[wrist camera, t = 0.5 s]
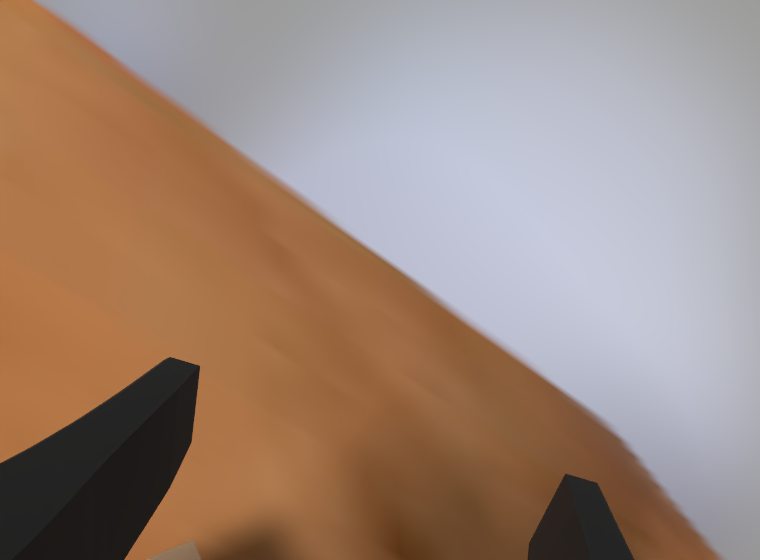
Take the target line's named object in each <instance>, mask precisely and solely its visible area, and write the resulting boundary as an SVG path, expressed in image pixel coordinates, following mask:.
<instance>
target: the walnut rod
mask: <svg viewBox="0 0 760 560" xmlns="http://www.w3.org/2000/svg"><path fill="white" fill-rule="evenodd" d="M146 560H201V558H200V555H199V552H198V550H197V547H196V544H195V542H194V540H191V541H189V542H187V543H184V544H182V545H179V546H177V547H175V548H172V549H170V550H167V551H165V552H162V553H160V554H158V555H155V556H153V557H150V558H148V559H146Z"/></svg>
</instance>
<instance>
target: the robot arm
mask: <svg viewBox="0 0 760 560" xmlns="http://www.w3.org/2000/svg"><path fill="white" fill-rule="evenodd" d="M199 371H200V366H198V365H195V364H192V363H188V362H185V361H181V360H178V359H175V358H171V357H169V358H167V359H165V360H163V361H162V362H161V363H159V364H158V365H156V366H155V367H154V368H152V369H151V370H150V371H148V372H147V373H145V374H144V375H143V376H141V377H140V378H139V379H137V380H136V381H134V382H133V383H132V384H130V385H129V386H127V387H126V388H124V389H123V390H121V391H120V392H119V393H117V394H116V395H114V396H113V397H111V398H110V399H108V400H107V401H105V402H104V403H102V404H101V405H99V406H98V407H96V408H95V409H93V410H92V411H90V412H89V413H87V414H85V415H84V416H82V417H81V418H79V419H78V420H76V421H74V422H73V423H71V424H70V425H68V426H66V427H64V428H63V429H61V430H59V431H58V432H56V433H54V434H53V435H51V436H49V437H48V438H46V439H44V440H42V441H41V442H39V443H37V444H36V445H34V446H32V447H30V448H28V449H26V450H25V451H23V452H21V453H19V454H17V455H15V456H13V457H11V458H10V459H8V460H6V461H4V462H2V463H0V560H124V559H125V557H126V556H127V554H128V553H129V551H130V549H131V548H132V546H133V545H134V543H135V542H136V540H137V539H138V537H139V535H140V534H141V532H142V531H143V529H144V528H145V526H146V524H147V523H148V521H149V520H150V518H151V517H152V515H153V513H154V512H155V510H156V509H157V507H158V505H159V504H160V502H161V501H162V499H163V498H164V496H165V494H166V493H167V491H168V489H169V488H170V486H171V484H172V482H173V480H174V478H175V476H176V474H177V471H178V469H179V467H180V465H181V463H182V461H183V459H184V457H185V455H186V453H187V450H188V448H189V446H190V444H191V441H192V432H193V424H194V415H195V406H196V397H197V389H198V380H199ZM528 560H634V558H633V556H632V554H631V552H630V550H629V548H628V546H627V544H626V542H625V540H624V538H623V536H622V534H621V532H620V529H619V527H618V525H617V523H616V521H615V519H614V517H613V515H612V513H611V511H610V508H609V506H608V504H607V502H606V500H605V498H604V496H603V494H602V492H601V490H600V488H599V486H598V484H597V483H595V482H592V481H588V480H585V479H582V478H578V477H575V476H571V475H568V474H565V476H564V478H563V479H562V481H561V483H560V485H559V487H558V489H557V491H556V493H555V495H554V497H553V499H552V500H551V502H550V504H549V506H548V508H547V510H546V512H545V514H544V516H543V518H542V520H541V522H540V523H539V525H538V527H537V529H536V531H535V533H534V535H533V537H532V539H531V541H530V543H529V551H528Z"/></svg>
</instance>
